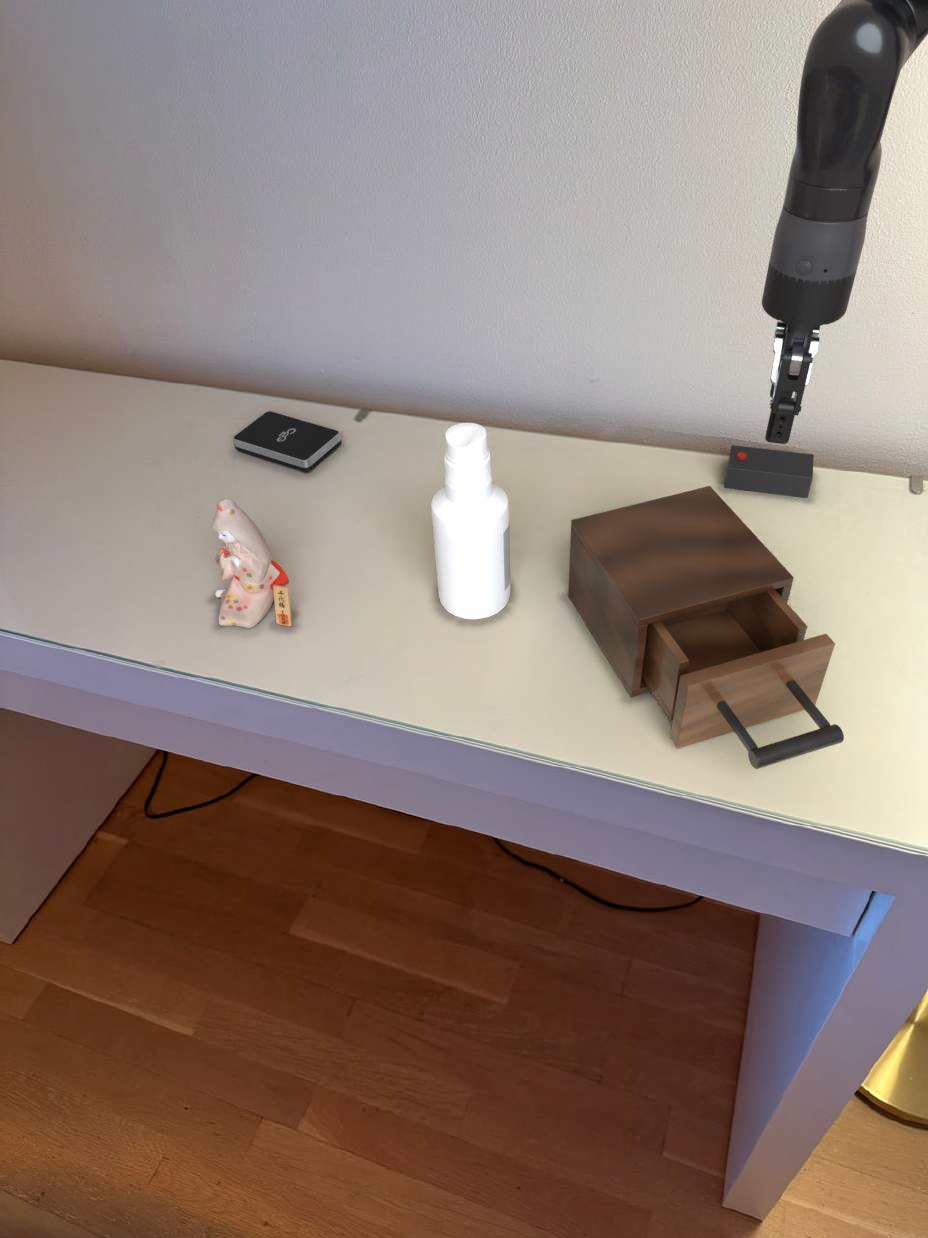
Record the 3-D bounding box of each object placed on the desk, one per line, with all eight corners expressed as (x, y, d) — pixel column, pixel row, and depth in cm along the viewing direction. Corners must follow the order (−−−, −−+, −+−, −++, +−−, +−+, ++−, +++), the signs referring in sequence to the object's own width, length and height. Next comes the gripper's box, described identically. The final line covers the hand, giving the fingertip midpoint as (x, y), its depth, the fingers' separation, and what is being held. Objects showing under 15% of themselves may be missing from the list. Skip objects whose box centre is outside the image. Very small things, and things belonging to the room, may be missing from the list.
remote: (808, 474, 100) (814, 451, 98) (807, 498, 97) (813, 475, 95) (727, 464, 102) (731, 442, 100) (723, 487, 99) (727, 464, 97)
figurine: (194, 620, 88) (167, 506, 81) (238, 584, 93) (217, 475, 86) (273, 642, 84) (252, 526, 77) (314, 604, 89) (298, 492, 82)
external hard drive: (271, 424, 112) (268, 409, 111) (345, 446, 108) (343, 431, 107) (233, 453, 108) (230, 438, 107) (309, 477, 104) (306, 462, 103)
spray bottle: (524, 588, 89) (523, 424, 76) (485, 630, 85) (477, 465, 72) (465, 564, 92) (455, 403, 79) (424, 604, 88) (407, 441, 75)
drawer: (862, 764, 71) (887, 701, 66) (716, 811, 68) (731, 749, 63) (735, 608, 84) (748, 546, 79) (609, 643, 81) (614, 581, 76)
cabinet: (773, 656, 81) (794, 577, 74) (631, 697, 78) (639, 619, 72) (697, 562, 90) (710, 485, 84) (567, 596, 88) (570, 519, 81)
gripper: (859, 297, 77) (815, 462, 88) (857, 231, 87) (818, 387, 98) (765, 289, 78) (734, 452, 90) (774, 226, 88) (745, 380, 99)
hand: (778, 418), depth 94 cm, fingers open, 8 cm apart
